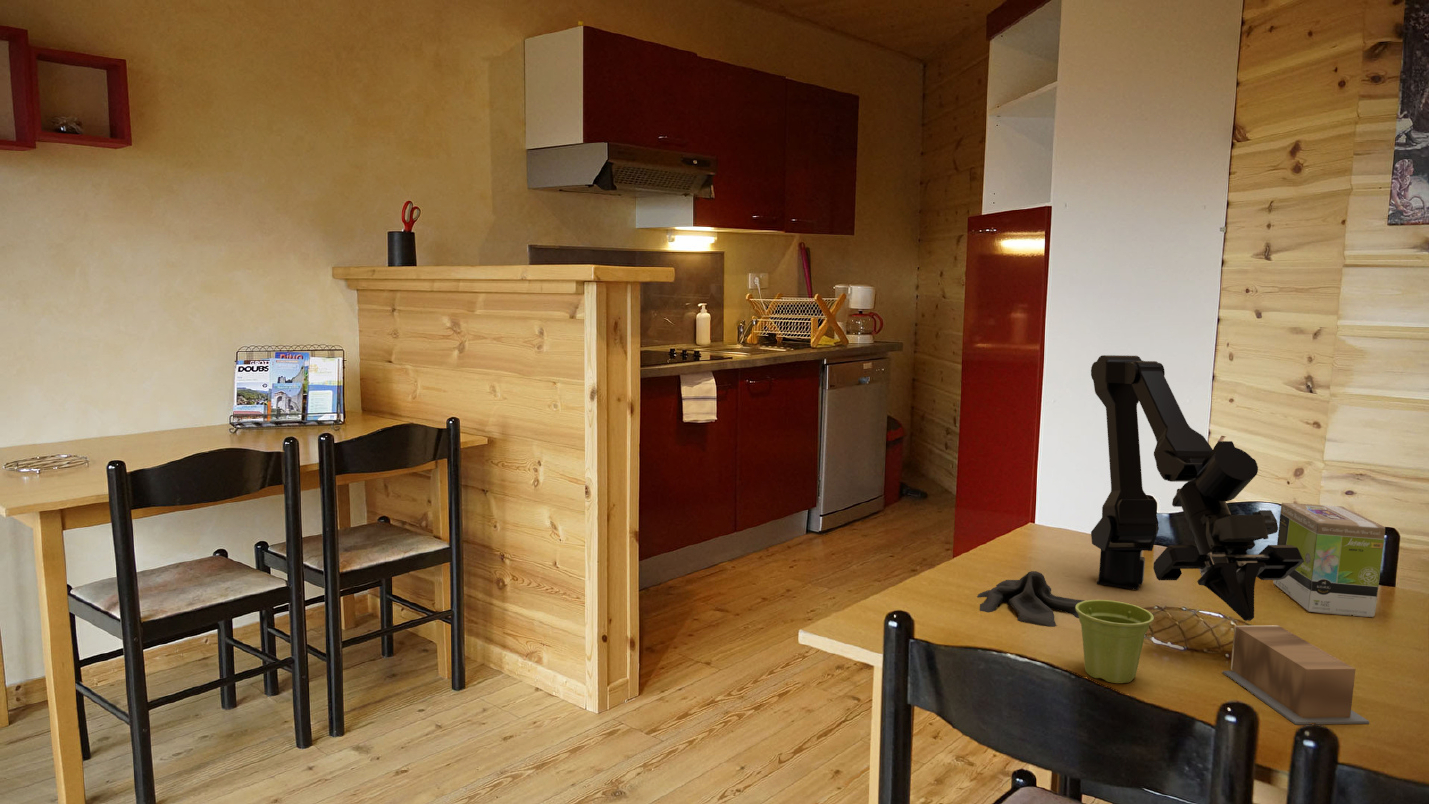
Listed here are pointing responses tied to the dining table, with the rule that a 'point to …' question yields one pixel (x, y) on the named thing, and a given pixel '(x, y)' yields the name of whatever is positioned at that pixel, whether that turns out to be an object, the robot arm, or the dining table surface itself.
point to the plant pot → (1112, 638)
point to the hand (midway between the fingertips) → (1249, 619)
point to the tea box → (1332, 558)
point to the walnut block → (1293, 671)
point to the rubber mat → (1287, 712)
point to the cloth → (1029, 599)
